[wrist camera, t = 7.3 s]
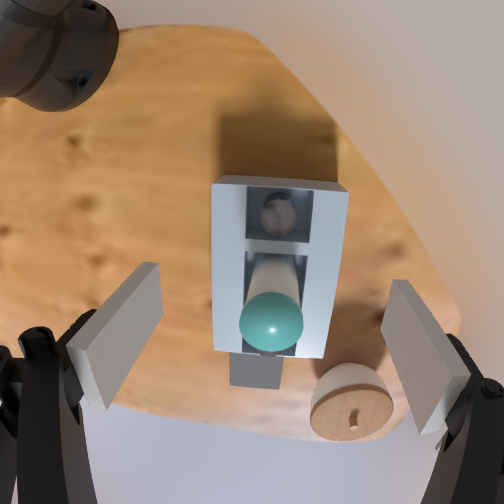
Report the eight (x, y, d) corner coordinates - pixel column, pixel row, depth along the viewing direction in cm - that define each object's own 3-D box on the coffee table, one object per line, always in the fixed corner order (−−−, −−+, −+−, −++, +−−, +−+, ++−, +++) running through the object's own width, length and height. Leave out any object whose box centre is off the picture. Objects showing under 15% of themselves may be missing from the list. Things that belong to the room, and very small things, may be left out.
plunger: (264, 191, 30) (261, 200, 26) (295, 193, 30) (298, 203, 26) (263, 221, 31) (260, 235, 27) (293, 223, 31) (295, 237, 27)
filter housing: (222, 321, 40) (213, 350, 34) (223, 174, 33) (211, 183, 27) (318, 328, 39) (322, 358, 33) (337, 182, 32) (349, 192, 27)
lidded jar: (388, 347, 39) (407, 395, 30) (372, 400, 43) (384, 447, 34) (311, 349, 40) (315, 401, 31) (305, 403, 44) (306, 452, 35)
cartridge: (253, 243, 33) (239, 296, 23) (300, 247, 32) (307, 300, 22) (251, 285, 35) (238, 348, 24) (295, 289, 34) (299, 353, 24)
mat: (230, 346, 41) (230, 348, 41) (283, 350, 40) (283, 352, 40) (230, 383, 43) (230, 385, 43) (279, 387, 43) (279, 389, 43)
